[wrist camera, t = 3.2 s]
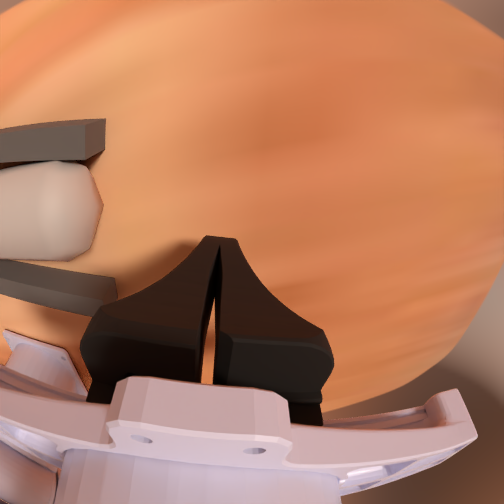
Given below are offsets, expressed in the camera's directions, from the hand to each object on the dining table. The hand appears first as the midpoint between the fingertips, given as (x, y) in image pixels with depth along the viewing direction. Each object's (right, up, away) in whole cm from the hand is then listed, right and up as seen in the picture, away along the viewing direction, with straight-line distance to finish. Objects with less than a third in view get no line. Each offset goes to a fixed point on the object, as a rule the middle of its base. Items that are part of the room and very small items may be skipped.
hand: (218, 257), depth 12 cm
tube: (-18, +4, 0) cm, 18 cm away
